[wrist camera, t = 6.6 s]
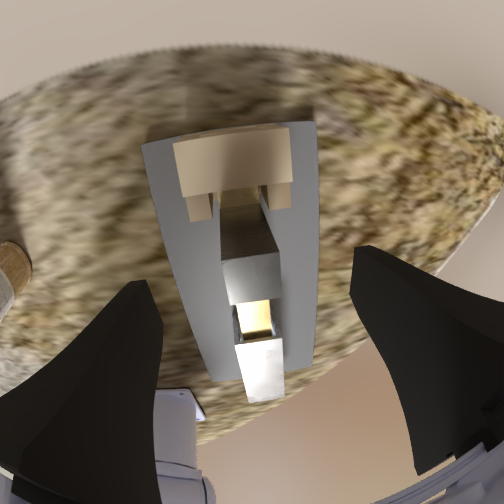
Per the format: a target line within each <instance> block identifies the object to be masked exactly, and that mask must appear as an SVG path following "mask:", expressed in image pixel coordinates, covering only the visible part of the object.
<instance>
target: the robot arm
mask: <svg viewBox="0 0 504 504" xmlns="http://www.w3.org/2000/svg"><path fill="white" fill-rule="evenodd" d="M349 294H350V297H351V299H352V302H353V304H354V307H355V309H356V311H357V313H358V316H359V318H360V319H361V321H362V323H363V325H364V327H365V328H366V330H367V332H368V334H369V335H370V337H371V338H372V340H373V342H374V344H375V346H376V347H377V349H378V351H379V353H380V355H381V356H382V358H383V360H384V362H385V364H386V366H387V368H388V370H389V372H390V374H391V377H392V380H393V382H394V385H395V387H396V390H397V393H398V396H399V399H400V402H401V405H402V408H403V412H404V415H405V419H406V423H407V427H408V431H409V435H410V440H411V446H412V452H413V458H414V467H415V469H416V472H417V475H418V476H420V475H421V474H423V473H425V472H427V471H429V470H431V469H432V468H434V467H436V466H438V465H439V464H441V463H443V462H444V461H446V460H447V459H449V458H450V457H452V456H455V458H456V460H455V461H454V462H452V463H451V464H450V465H448V466H446V467H445V468H443V469H441V470H440V471H438V472H436V473H434V474H433V475H431V476H429V477H427V478H426V479H424V480H422V481H420V482H418V483H416V484H414V485H412V486H411V487H408V488H406V489H405V490H402V491H400V492H398V493H396V494H393V495H391V496H389V497H387V498H384V499H382V500H379V501H377V502H374V503H372V504H420V503H422V502H423V501H425V500H427V499H429V498H431V497H432V496H434V495H436V494H437V493H439V492H441V491H442V490H444V489H446V488H447V489H446V492H445V494H444V495H441V496H439V497H437V498H435V499H433V500H430V501H428V502H426V503H424V504H504V302H499V301H496V300H493V299H490V298H487V297H483V296H480V295H477V294H475V293H472V292H469V291H467V290H464V289H462V288H459V287H457V286H454V285H452V284H449V283H447V282H445V281H443V280H441V279H439V278H436V277H435V276H432V275H430V274H428V273H426V272H424V271H422V270H420V269H418V268H416V267H414V266H412V265H411V264H409V263H407V262H405V261H403V260H401V259H399V258H397V257H395V256H393V255H391V254H389V253H387V252H385V251H383V250H381V249H378V248H376V247H374V246H371V245H367V246H361V247H355V248H354V258H353V268H352V276H351V285H350V292H349ZM162 343H163V322H162V319H161V317H160V314H159V312H158V310H157V307H156V305H155V302H154V300H153V297H152V295H151V292H150V289H149V287H148V284H147V282H146V279H145V280H138V281H131V282H129V283H128V284H127V285H126V286H124V287H123V288H122V289H121V290H120V291H119V292H118V293H117V295H116V296H115V297H114V298H113V299H112V300H111V301H110V302H109V303H108V304H107V305H106V306H105V307H104V308H103V310H102V311H101V312H100V313H99V314H98V315H97V316H96V317H95V318H94V319H93V320H92V321H91V322H90V324H89V325H88V326H87V327H86V328H85V329H84V330H83V331H82V332H81V333H80V334H79V335H78V336H77V337H76V338H75V339H74V340H73V341H72V342H71V343H70V344H69V345H68V346H67V347H66V348H65V349H64V350H63V351H61V352H60V353H59V354H58V355H57V356H56V357H55V358H54V359H53V360H51V361H50V362H49V363H48V364H46V365H45V366H44V367H43V368H41V369H40V370H39V371H38V372H36V373H35V374H34V375H32V376H31V377H30V378H29V379H27V380H26V381H24V382H23V383H22V384H20V385H19V386H17V387H16V388H14V389H12V390H11V391H9V392H8V393H6V394H4V395H3V396H1V397H0V466H1V467H2V468H4V469H5V470H7V471H9V472H10V473H12V474H14V476H13V480H11V479H9V478H8V477H6V476H4V475H2V474H1V473H0V504H216V495H215V490H214V487H213V484H212V483H211V482H210V481H209V479H208V478H207V477H204V476H202V471H201V470H197V443H196V421H203V420H205V415H204V414H203V412H202V410H201V409H200V407H199V405H198V403H197V402H196V400H195V398H194V396H193V395H192V393H191V391H190V390H189V389H167V390H156V386H157V379H158V372H159V366H160V360H161V353H162Z"/></svg>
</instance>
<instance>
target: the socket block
mask: <svg viewBox="0 0 504 504" xmlns="http://www.w3.org/2000/svg"><path fill="white" fill-rule="evenodd" d="M173 148H174V154H175V160H176V165H177V170H178V175H179V181H180V186H181V191H182V195H183V197H185V199H186V204H187V208H188V213H189V218H190V222H195V221H201V220H207V219H212V218H213V201H214V200H218V196H217V192H219V191H225V190H232V189H239V188H246V187H253V186H258V192H259V194H262V196H263V198H264V200H265V202H266V204H267V206H268V208H269V210H276V209H284V208H291V194H290V182H293V178H292V162H291V148H290V135H289V128H287V127H284V126H281V125H277V124H262V125H252V126H243V127H235V128H227V129H220V130H214V131H207V132H201V133H196V134H190V135H185V136H182V137H181V138H180V139H178V140H177V141H176V142H174V143H173Z"/></svg>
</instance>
